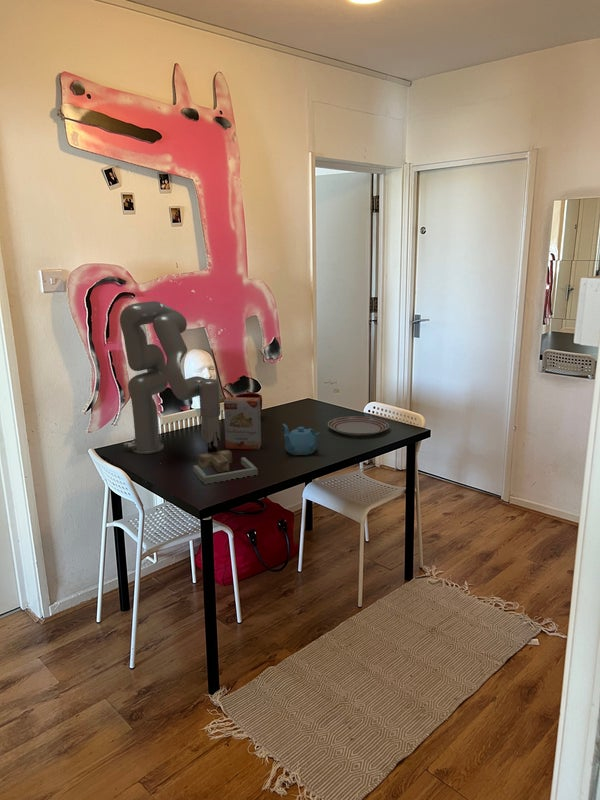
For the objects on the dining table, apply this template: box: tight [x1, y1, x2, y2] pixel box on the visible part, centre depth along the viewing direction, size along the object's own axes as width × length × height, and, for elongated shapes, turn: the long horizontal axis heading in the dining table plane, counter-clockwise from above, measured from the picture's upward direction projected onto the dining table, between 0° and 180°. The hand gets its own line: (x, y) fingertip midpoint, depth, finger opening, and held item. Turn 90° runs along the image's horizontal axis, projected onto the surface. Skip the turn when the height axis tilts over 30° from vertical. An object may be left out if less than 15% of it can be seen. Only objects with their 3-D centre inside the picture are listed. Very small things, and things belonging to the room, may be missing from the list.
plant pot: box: [234, 392, 263, 419], centre depth 287 cm, size 13×13×12 cm
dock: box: [193, 456, 259, 485], centre depth 221 cm, size 20×14×2 cm
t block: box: [198, 449, 233, 473], centre depth 228 cm, size 12×12×4 cm
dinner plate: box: [327, 415, 390, 437], centre depth 270 cm, size 28×27×3 cm
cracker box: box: [223, 396, 262, 451], centre depth 247 cm, size 14×6×21 cm, turn 82°
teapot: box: [282, 423, 322, 456], centre depth 242 cm, size 15×15×10 cm
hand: (212, 456), depth 235 cm, fingers closed
